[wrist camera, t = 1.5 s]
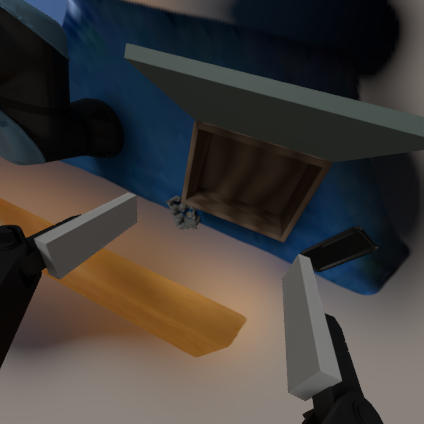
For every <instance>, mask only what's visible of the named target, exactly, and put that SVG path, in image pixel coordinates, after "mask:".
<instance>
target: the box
mask: <svg viewBox="0 0 424 424" xmlns="http://www.w3.org/2000/svg"><path fill="white" fill-rule="evenodd" d="M332 164H333V163H331V162H330V161H329V160H326V159H323V158H319V157H316V156H313V155H310V154H306V153H303V152H300V151H297V150H293V149H290V148H287V147H283V146H280V145H277V144H274V143H270V142H267V141H264V140H261V139H257V138H254V137H251V136H248V135H244V134H241V133H238V132H234V131H231V130H228V129H225V128H221V127H218V126H215V125H212V124H208V123H205V122H202V121H194V127H193V133H192V139H191V145H190V151H189V157H188V163H187V169H186V175H185V181H184V187H183V193H182V199H181V203H184V204H187V205H189V206H192V207H194V208H197V209H199V210H202V211H204V212H207V213H210V214H212V215H215V216H217V217H220V218H222V219H225V220H227V221H230V222H233V223H235V224H238V225H240V226H243V227H245V228H248V229H250V230H253V231H256V232H258V233H261V234H263V235H266V236H268V237H271V238H273V239H276V240H279V241H281V242H285V240H286V238H287V237H288V235H289V234H290V232H291V230H292V229H293V227H294V226H295V224H296V222H297V221H298V219H299V217H300V216H301V214H302V213H303V211H304V209H305V208H306V206H307V205H308V203H309V201H310V200H311V198H312V196H313V195H314V193H315V192H316V190H317V188H318V187H319V185H320V184H321V182H322V180H323V179H324V177H325V175H326V174H327V172H328V171H329V169H330V167H331V166H332Z"/></svg>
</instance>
